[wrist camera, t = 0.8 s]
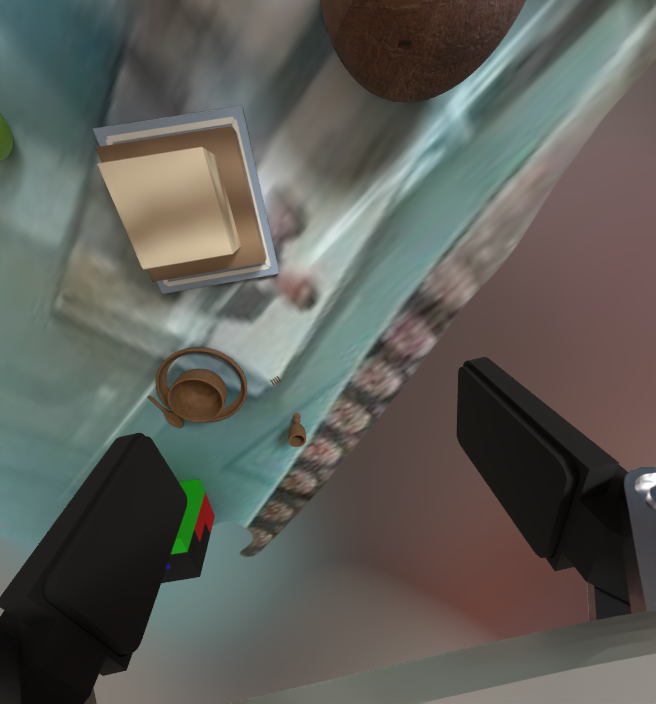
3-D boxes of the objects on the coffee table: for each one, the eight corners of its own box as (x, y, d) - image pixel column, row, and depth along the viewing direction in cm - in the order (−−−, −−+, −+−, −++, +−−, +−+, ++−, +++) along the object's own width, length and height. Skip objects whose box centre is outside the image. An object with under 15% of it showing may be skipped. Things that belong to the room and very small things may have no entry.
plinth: (113, 152, 29) (55, 135, 22) (237, 132, 29) (219, 110, 22) (163, 275, 34) (130, 295, 27) (266, 257, 35) (260, 272, 27)
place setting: (227, 315, 38) (217, 333, 33) (311, 413, 47) (314, 440, 42) (127, 382, 41) (103, 408, 36) (224, 464, 50) (217, 494, 45)
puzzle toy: (158, 524, 54) (133, 587, 45) (138, 487, 49) (105, 549, 41) (214, 516, 55) (200, 576, 46) (200, 478, 50) (180, 538, 41)
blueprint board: (97, 130, 28) (91, 128, 28) (242, 107, 29) (241, 105, 28) (164, 292, 36) (161, 294, 35) (279, 272, 36) (279, 273, 35)
